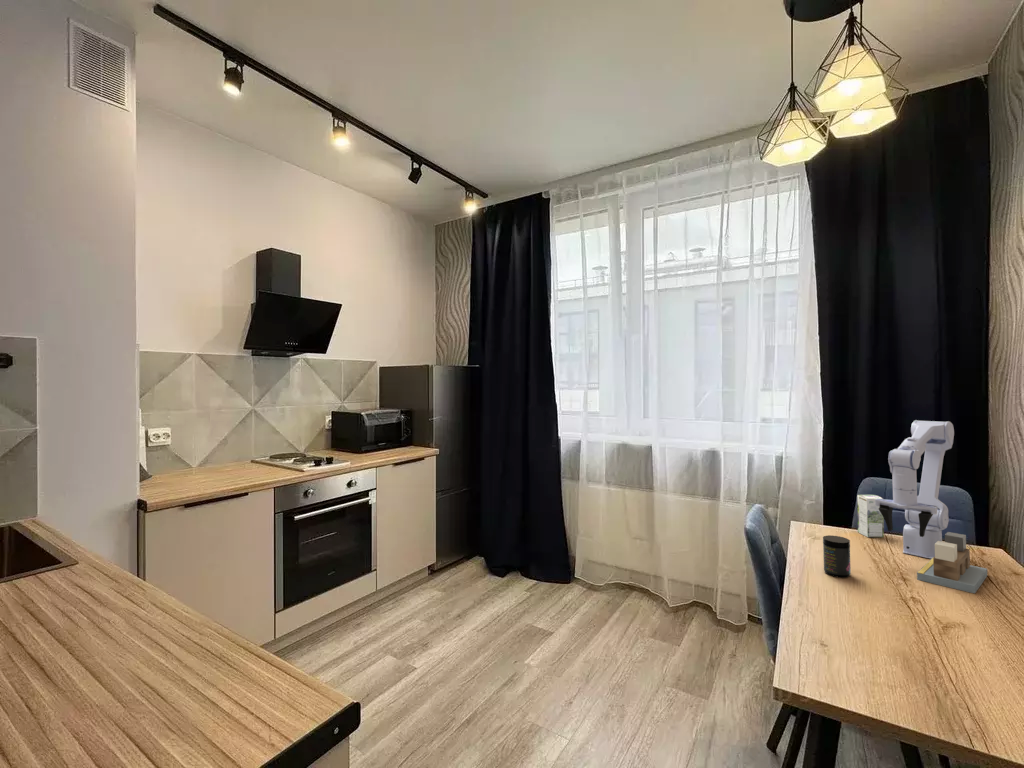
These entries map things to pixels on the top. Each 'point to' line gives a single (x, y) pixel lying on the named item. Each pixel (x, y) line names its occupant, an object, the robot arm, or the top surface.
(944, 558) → the cream block
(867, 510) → the syrup box
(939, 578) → the dock
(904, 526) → the robot arm
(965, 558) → the brown piece
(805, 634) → the top surface
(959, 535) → the gray cube
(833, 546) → the supplement container
